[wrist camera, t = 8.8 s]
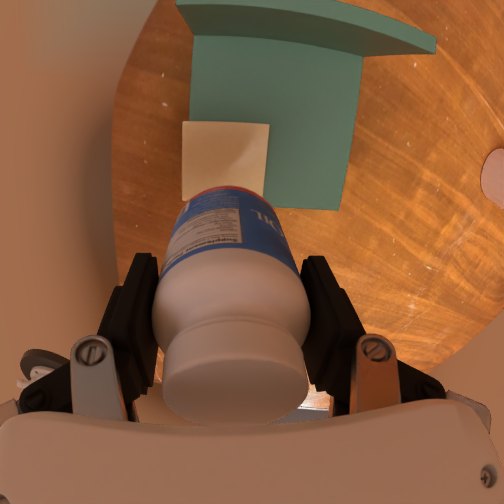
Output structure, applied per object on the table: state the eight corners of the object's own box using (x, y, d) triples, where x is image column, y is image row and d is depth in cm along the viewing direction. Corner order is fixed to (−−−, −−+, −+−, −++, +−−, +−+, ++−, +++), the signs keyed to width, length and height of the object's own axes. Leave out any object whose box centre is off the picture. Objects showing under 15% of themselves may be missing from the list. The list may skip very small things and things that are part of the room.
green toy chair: (187, 189, 29) (165, 271, 17) (193, 30, 21) (166, -15, 9) (326, 195, 31) (385, 272, 19) (347, 48, 22) (437, 37, 11)
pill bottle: (290, 254, 17) (344, 413, 8) (202, 285, 17) (197, 447, 9) (258, 164, 14) (315, 306, 6) (157, 205, 14) (94, 368, 6)
